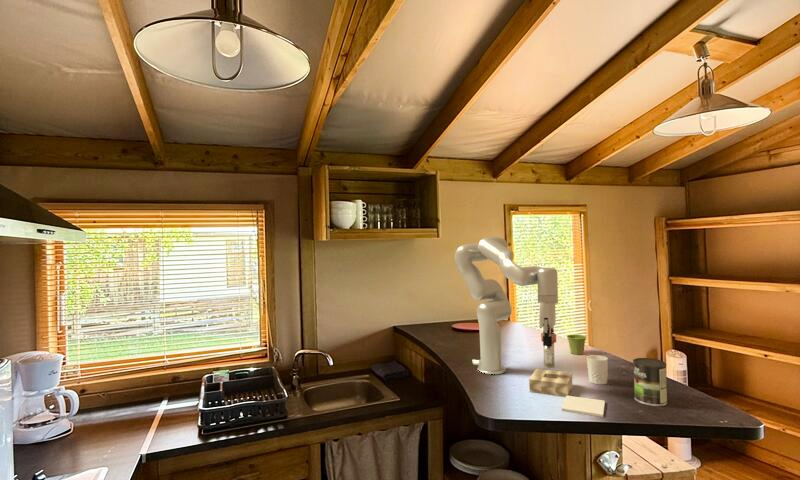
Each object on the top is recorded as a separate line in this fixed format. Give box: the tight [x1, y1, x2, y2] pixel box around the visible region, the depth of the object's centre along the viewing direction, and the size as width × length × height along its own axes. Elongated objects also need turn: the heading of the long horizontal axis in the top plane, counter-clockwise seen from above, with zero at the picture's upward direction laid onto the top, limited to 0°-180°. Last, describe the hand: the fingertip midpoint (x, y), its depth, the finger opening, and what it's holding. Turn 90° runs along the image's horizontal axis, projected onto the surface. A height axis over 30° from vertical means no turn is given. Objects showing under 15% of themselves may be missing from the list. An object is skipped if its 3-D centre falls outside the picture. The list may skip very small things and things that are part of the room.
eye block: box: [528, 368, 573, 398], centre depth 166 cm, size 14×14×5 cm
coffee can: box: [632, 357, 668, 407], centre depth 150 cm, size 10×10×14 cm
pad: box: [560, 395, 606, 418], centre depth 147 cm, size 13×13×1 cm
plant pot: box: [566, 334, 587, 356], centre depth 213 cm, size 9×9×9 cm
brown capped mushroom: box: [540, 332, 557, 369], centre depth 166 cm, size 6×6×13 cm
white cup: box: [586, 354, 609, 386], centre depth 171 cm, size 8×8×10 cm
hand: (548, 343), depth 166 cm, fingers closed on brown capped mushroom, 5 cm apart
